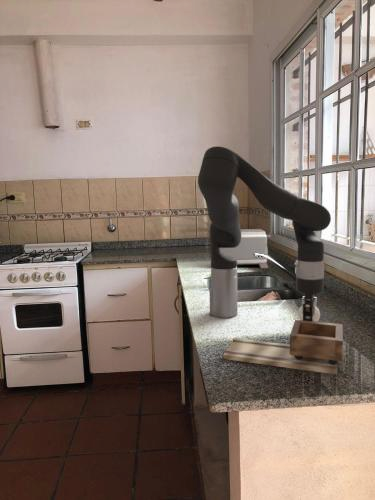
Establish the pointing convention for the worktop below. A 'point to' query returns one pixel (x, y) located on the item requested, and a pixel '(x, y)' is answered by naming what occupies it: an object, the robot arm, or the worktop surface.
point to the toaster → (250, 248)
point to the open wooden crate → (317, 340)
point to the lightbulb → (315, 317)
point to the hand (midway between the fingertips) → (308, 331)
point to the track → (275, 356)
